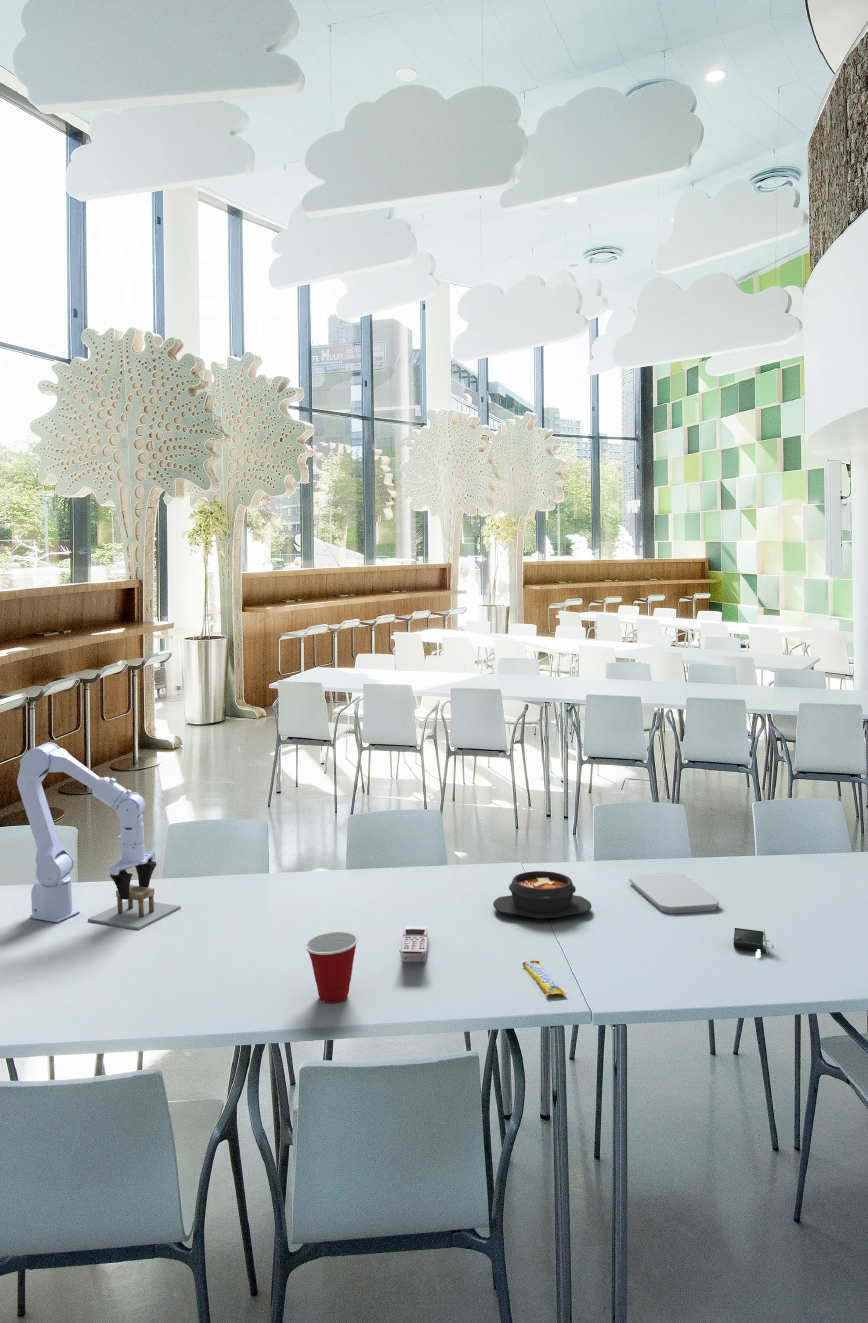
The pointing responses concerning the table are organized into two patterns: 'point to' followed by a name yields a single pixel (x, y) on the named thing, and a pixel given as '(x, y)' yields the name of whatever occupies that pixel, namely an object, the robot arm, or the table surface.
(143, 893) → the stool
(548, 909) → the casserole
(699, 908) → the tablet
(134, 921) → the mat
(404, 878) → the table surface
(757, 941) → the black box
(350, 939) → the plastic cup
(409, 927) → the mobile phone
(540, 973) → the candy bar
